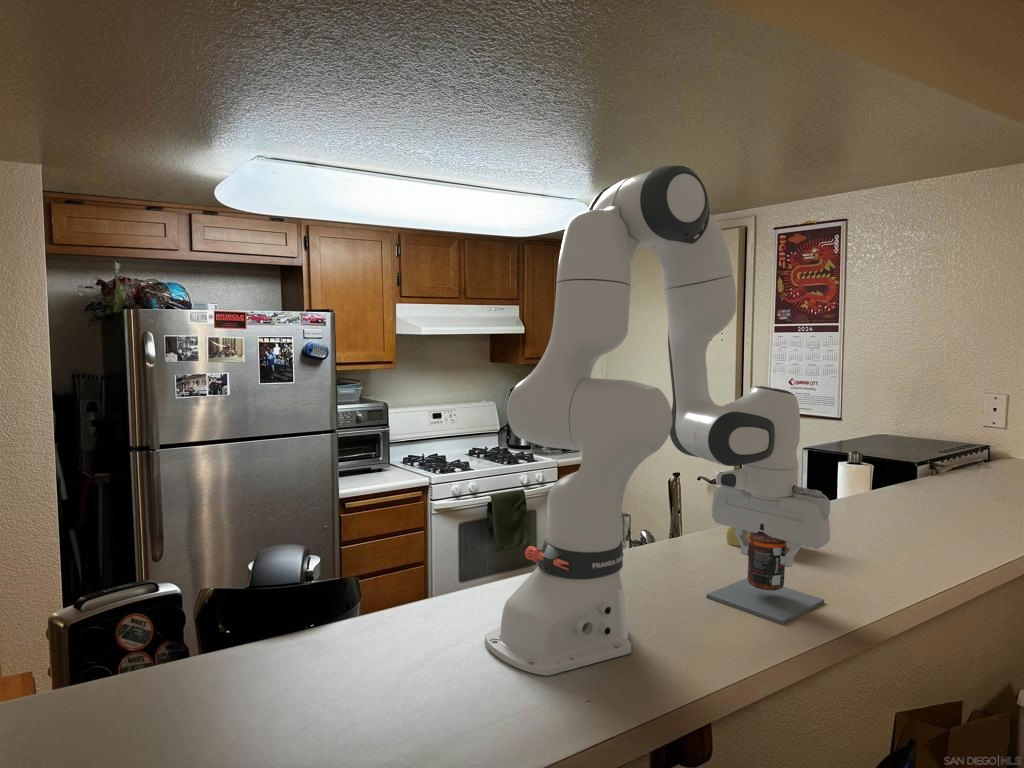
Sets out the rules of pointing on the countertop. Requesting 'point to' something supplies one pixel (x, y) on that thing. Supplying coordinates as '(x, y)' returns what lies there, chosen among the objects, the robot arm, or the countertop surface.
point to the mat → (766, 601)
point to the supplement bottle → (765, 561)
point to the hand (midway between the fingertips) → (766, 560)
